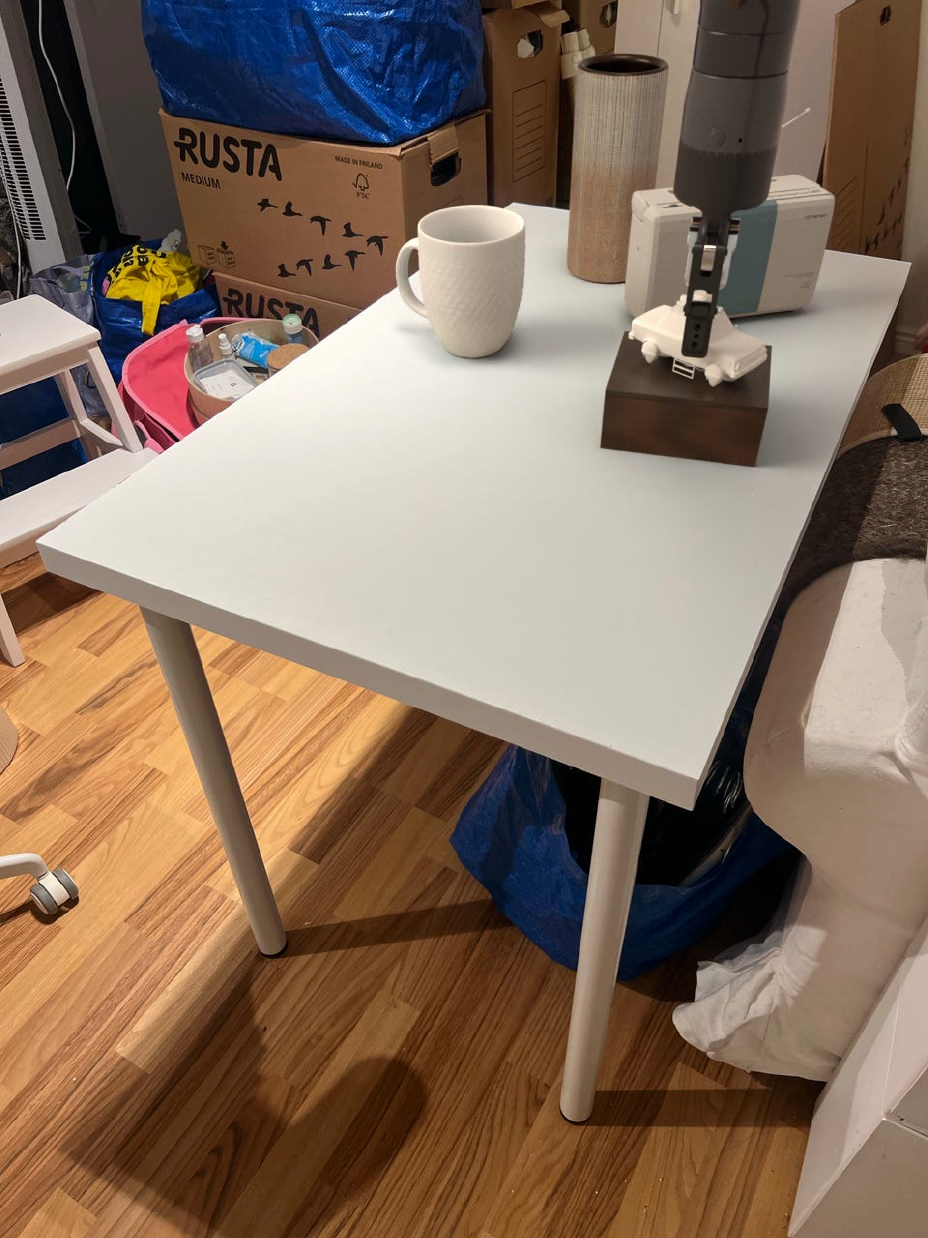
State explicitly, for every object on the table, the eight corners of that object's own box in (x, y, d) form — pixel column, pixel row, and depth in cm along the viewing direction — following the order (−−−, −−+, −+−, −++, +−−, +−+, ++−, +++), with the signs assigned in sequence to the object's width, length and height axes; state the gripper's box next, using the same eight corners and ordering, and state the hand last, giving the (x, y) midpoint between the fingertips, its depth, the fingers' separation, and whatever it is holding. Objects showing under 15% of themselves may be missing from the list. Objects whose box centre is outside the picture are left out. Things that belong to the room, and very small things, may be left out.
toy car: (730, 400, 79) (744, 325, 74) (620, 356, 85) (627, 285, 81) (767, 376, 82) (783, 303, 77) (658, 335, 88) (668, 265, 84)
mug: (375, 346, 101) (364, 225, 92) (427, 309, 108) (421, 193, 99) (493, 376, 96) (493, 250, 87) (540, 334, 103) (544, 214, 94)
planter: (557, 256, 119) (567, 55, 104) (631, 250, 120) (652, 50, 105) (578, 287, 112) (591, 76, 96) (656, 280, 113) (682, 69, 98)
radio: (641, 338, 101) (664, 141, 88) (615, 307, 107) (632, 119, 94) (812, 315, 105) (860, 122, 91) (778, 287, 111) (818, 102, 97)
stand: (759, 401, 91) (772, 345, 87) (754, 467, 82) (768, 407, 78) (618, 386, 94) (624, 330, 89) (600, 447, 85) (605, 389, 81)
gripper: (777, 165, 65) (735, 378, 76) (781, 112, 75) (744, 307, 86) (670, 159, 66) (645, 368, 77) (688, 107, 76) (664, 299, 88)
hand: (697, 335), depth 82 cm, fingers closed on toy car, 7 cm apart
